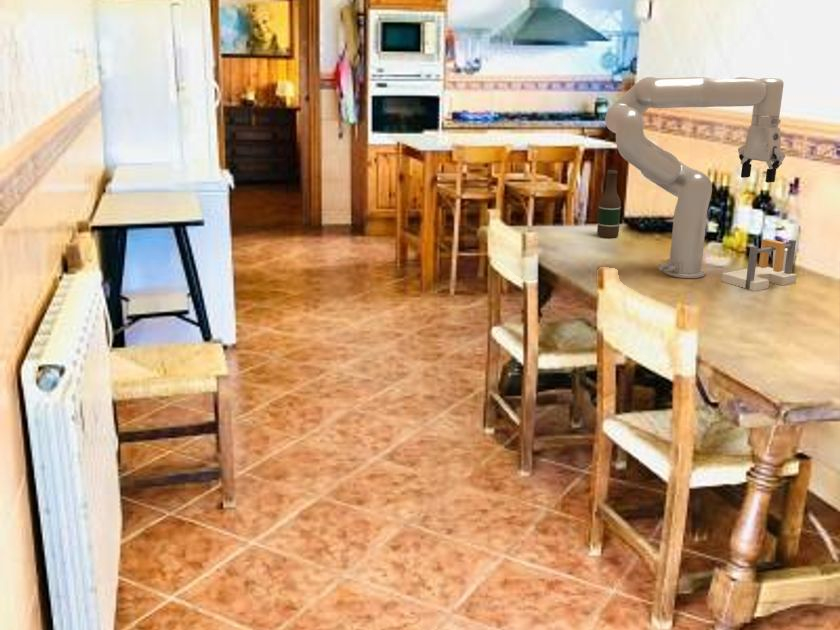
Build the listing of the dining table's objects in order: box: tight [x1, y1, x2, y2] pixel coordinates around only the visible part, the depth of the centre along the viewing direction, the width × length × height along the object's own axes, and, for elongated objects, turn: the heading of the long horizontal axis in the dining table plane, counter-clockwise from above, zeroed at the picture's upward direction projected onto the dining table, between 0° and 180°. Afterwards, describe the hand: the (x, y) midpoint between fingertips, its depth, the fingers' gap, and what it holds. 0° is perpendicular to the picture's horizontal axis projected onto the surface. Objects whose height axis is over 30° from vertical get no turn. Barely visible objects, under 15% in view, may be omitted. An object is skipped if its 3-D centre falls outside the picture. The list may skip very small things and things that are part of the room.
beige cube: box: [772, 247, 798, 271], centre depth 277 cm, size 7×7×7 cm
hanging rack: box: [721, 239, 798, 292], centre depth 262 cm, size 18×12×12 cm, turn 120°
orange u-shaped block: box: [758, 238, 787, 272], centre depth 259 cm, size 2×7×8 cm, turn 30°
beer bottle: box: [596, 169, 622, 240], centre depth 318 cm, size 8×8×24 cm
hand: (757, 179), depth 266 cm, fingers open, 9 cm apart
